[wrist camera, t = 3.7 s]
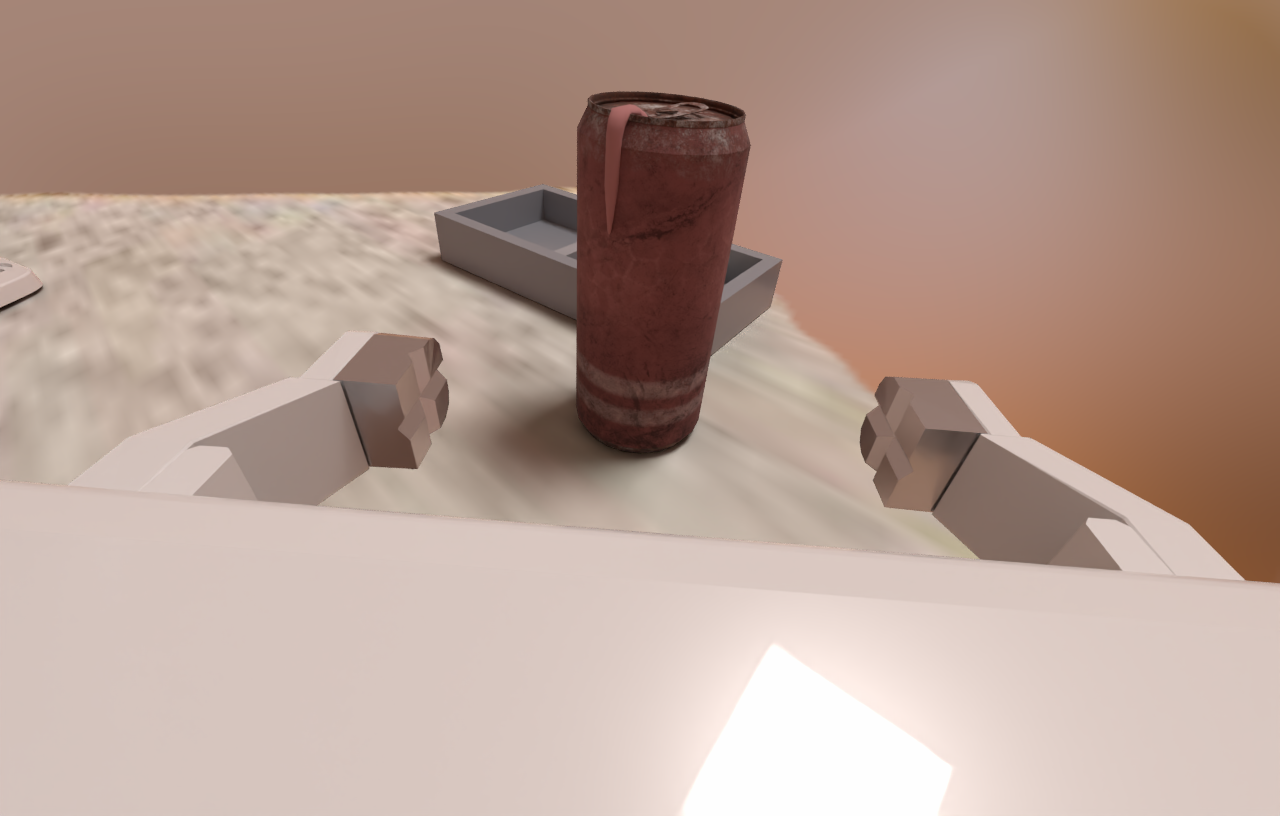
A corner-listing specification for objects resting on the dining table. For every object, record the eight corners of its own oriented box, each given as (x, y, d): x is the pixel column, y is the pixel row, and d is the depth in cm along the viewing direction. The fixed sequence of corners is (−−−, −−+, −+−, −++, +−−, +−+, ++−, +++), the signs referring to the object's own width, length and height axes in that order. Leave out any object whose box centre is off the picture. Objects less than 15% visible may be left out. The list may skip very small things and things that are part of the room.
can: (550, 434, 25) (538, 98, 16) (610, 369, 30) (625, 81, 21) (668, 478, 23) (724, 129, 15) (711, 402, 28) (773, 103, 19)
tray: (441, 259, 39) (434, 212, 37) (544, 225, 47) (543, 184, 44) (691, 371, 30) (700, 317, 28) (770, 306, 37) (782, 259, 35)
